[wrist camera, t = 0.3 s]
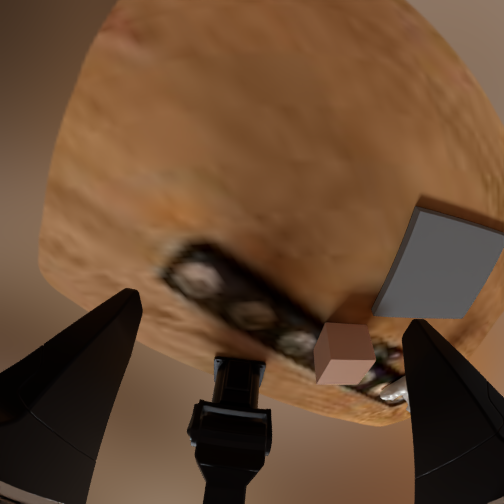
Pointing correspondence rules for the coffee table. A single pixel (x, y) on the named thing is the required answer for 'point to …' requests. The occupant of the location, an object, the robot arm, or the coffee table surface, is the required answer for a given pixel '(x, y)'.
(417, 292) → the charcoal mat
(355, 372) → the terracotta cube
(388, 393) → the white creature statuette
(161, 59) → the coffee table surface
